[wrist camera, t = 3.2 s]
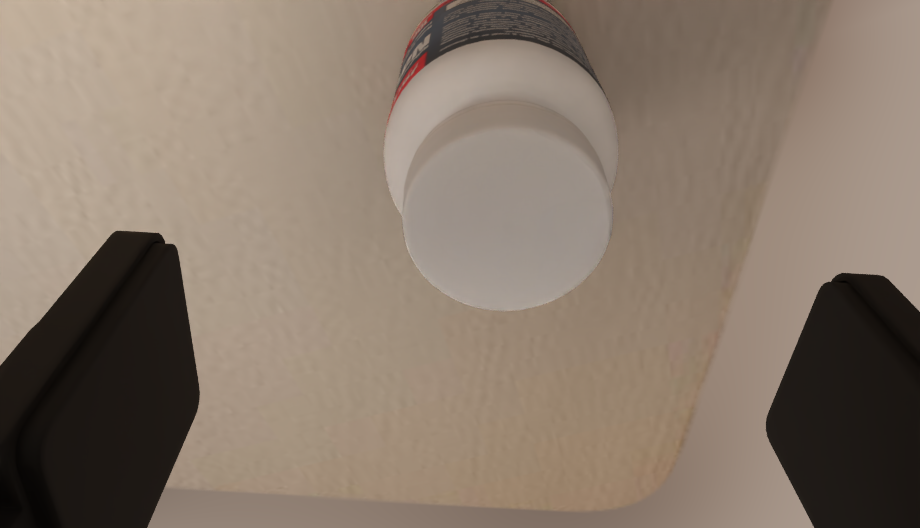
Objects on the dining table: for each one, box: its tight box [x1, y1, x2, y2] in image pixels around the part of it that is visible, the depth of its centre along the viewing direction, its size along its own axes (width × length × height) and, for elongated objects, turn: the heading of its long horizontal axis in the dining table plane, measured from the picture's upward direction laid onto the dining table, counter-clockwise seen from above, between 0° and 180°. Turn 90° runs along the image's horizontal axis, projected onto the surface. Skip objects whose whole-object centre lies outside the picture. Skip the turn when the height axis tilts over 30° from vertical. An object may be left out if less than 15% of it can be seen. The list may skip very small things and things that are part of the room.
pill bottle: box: [384, 0, 618, 311], centre depth 17 cm, size 5×5×9 cm
